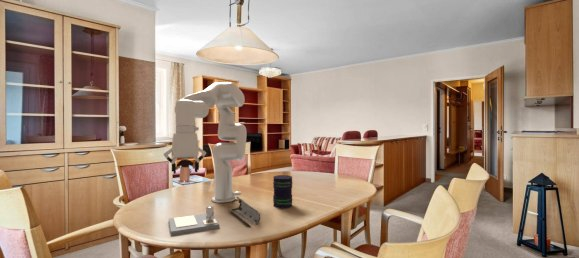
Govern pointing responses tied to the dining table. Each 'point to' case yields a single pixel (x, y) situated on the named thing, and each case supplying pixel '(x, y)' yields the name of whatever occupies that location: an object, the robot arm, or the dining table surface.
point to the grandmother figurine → (184, 169)
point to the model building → (247, 212)
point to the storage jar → (282, 191)
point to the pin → (209, 214)
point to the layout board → (191, 224)
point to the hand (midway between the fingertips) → (185, 172)
